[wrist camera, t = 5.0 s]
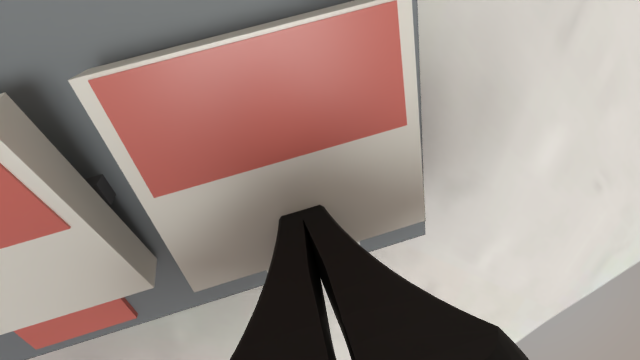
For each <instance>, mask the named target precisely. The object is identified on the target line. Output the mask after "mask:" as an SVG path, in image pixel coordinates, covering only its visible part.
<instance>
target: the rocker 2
mask: <svg viewBox="0 0 640 360" xmlns="http://www.w3.org/2000/svg"><path fill="white" fill-rule="evenodd" d="M68 81H69V83H70V85H71V86H72V88H73V90H74V91H75V93H76V95H77V97H78V98H79V100H80V102H81V103H82V105H83V107H84V108H85V110H86V112H87V113H88V115H89V117H90V118H91V120H92V122H93V123H94V125H95V127H96V128H97V130H98V132H99V133H100V135H101V137H102V139H103V140H104V142H105V144H106V145H107V147H108V149H109V150H110V152H111V154H112V155H113V157H114V159H115V160H116V162H117V164H118V165H119V167H120V169H121V170H122V172H123V174H124V175H125V177H126V179H127V181H128V182H129V184H130V186H131V187H132V189H133V191H134V192H135V194H136V196H137V197H138V199H139V201H140V202H141V204H142V206H143V207H144V209H145V211H146V212H147V214H148V216H149V217H150V219H151V221H152V222H153V224H154V226H155V228H156V229H157V231H158V233H159V234H160V236H161V238H162V239H163V241H164V243H165V244H166V246H167V248H168V249H169V251H170V253H171V254H172V256H173V258H174V259H175V261H176V263H177V264H178V266H179V268H180V270H181V271H182V273H183V275H184V276H185V278H186V280H187V281H188V283H189V285H190V286H191V288H192V290H193V291H194V292H198V291H201V290H204V289H207V288H210V287H214V286H217V285H220V284H223V283H226V282H230V281H233V280H236V279H239V278H243V277H246V276H249V275H252V274H255V273H259V272H262V271H265V270H268V269H269V267H270V264H271V260H272V256H273V252H274V247H275V243H276V238H277V232H278V225H279V219H280V217H281V216H283V215H287V214H290V213H294V212H297V211H301V210H304V209H307V208H311V207H314V206H317V205H322V206H324V207H325V209H326V210H327V211H328V213H329V214H330V215H331V216H332V218H333V219H334V220H335V221H336V222H337V223H338V224H339V225H340V226H341V228H342V229H343V230H344V231H345V232H346V233H348V234H349V235H350V236H351V237H352V238H353V239H354V240H355V241H356V242H358V241H362V240H365V239H368V238H371V237H374V236H378V235H381V234H384V233H387V232H390V231H394V230H397V229H400V228H403V227H407V226H410V225H413V224H416V223H419V222H423V221H426V220H425V204H424V188H423V172H422V156H421V139H420V123H419V107H418V91H417V75H416V58H415V42H414V26H413V10H412V0H354V1H350V2H346V3H342V4H338V5H334V6H331V7H327V8H323V9H319V10H315V11H311V12H307V13H303V14H299V15H296V16H292V17H288V18H284V19H280V20H276V21H272V22H268V23H264V24H261V25H257V26H253V27H249V28H245V29H241V30H237V31H233V32H230V33H226V34H222V35H218V36H214V37H210V38H206V39H202V40H198V41H195V42H191V43H187V44H183V45H179V46H175V47H171V48H167V49H163V50H160V51H156V52H152V53H148V54H144V55H140V56H136V57H132V58H128V59H125V60H121V61H117V62H113V63H109V64H105V65H101V66H97V67H93V68H90V69H87V70H85V71H83V72H82V73H80V74H78V75H76V76H74V77H73V78H71V79H69V80H68Z"/></svg>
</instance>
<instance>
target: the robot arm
mask: <svg viewBox="0 0 640 360" xmlns="http://www.w3.org/2000/svg"><path fill="white" fill-rule="evenodd" d="M320 278H321V279H320ZM321 280H322V283H323V285H324V288H325V290H326V293H327V295H328V298H329V300H330V303H331V305H332V308H333V310H334V313H335V315H336V318H337V320H338V323H339V325H340V328H341V330H342V333H343V336H344V338H345V341H346V344H347V347H348V350H349V353H350V356H351V360H529V359H528V358H527V357H526V356H525V354H524V353H523V352H522V351H521V350H520V349H519V348H518V346H517V345H516V344H515V343H514V342H513V341H512V340H511V339H510V338H509V337H508V336H507V335H506V334H505V333H504V332H503V331H502V330H501V329H500V328H499V327H498V326H495V325H493V324H491V323H488V322H486V321H484V320H481V319H479V318H477V317H475V316H472V315H470V314H468V313H466V312H464V311H462V310H460V309H458V308H456V307H454V306H452V305H450V304H448V303H446V302H444V301H442V300H440V299H438V298H436V297H434V296H433V295H431V294H429V293H428V292H426V291H424V290H422V289H421V288H419V287H417V286H416V285H414V284H412V283H410V282H409V281H407V280H406V279H404V278H403V277H401V276H400V275H398V274H397V273H395V272H394V271H392V270H391V269H389V268H388V267H387V266H385V265H384V264H382V263H381V262H380V261H378V260H377V259H376V258H375V257H373V256H372V255H371V254H370V253H368V252H367V251H366V250H365V249H364V248H363V247H361V246H360V245H359V244H358V243H357V242H356V241H355V240H354V239H353V238H352V237H351V236H350V235H349V234H348V233H346V232H345V231H344V230H343V229H342V228H341V226H340V225H339V224H338V223H337V222H336V221H335V220H334V219H333V218H332V216H331V215H330V214H329V213H328V211H327V210H326V209H325V207H324V206H322V205H317V206H314V207H311V208H307V209H304V210H301V211H297V212H294V213H290V214H287V215H283V216H281V217H280V219H279V225H278V232H277V238H276V243H275V247H274V252H273V256H272V260H271V264H270V267H269V270H268V274H267V277H266V280H265V283H264V286H263V289H262V292H261V295H260V297H259V300H258V302H257V305H256V307H255V310H254V312H253V315H252V317H251V319H250V321H249V323H248V325H247V328H246V330H245V332H244V334H243V336H242V338H241V340H240V342H239V344H238V346H237V348H236V350H235V352H234V353H233V355H232V357H231V359H230V360H336V357H335V353H334V349H333V344H332V340H331V334H330V329H329V323H328V317H327V312H326V306H325V301H324V295H323V290H322V284H321Z"/></svg>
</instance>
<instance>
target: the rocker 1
mask: <svg viewBox="0 0 640 360" xmlns="http://www.w3.org/2000/svg"><path fill="white" fill-rule="evenodd" d="M156 264H157V258H156V257H155V256H154V255H153V254H152V253H151V252H150V251H149V249H148V248H147V247H146V246H145V245H144V244H143V243H142V242H141V241H140V240H139V238H138V237H137V236H136V235H135V234H134V233H133V232H132V231H131V230H130V229H129V228H128V226H127V225H126V224H125V223H124V222H123V221H122V220H121V219H120V218H119V217H118V215H117V214H116V213H115V212H114V211H113V210H112V209H111V208H110V207H109V206H108V204H107V203H106V202H105V201H104V200H103V199H102V198H101V197H100V196H99V195H98V194H97V192H96V191H95V190H94V189H93V188H92V187H91V186H90V185H89V184H88V183H87V181H86V180H85V179H84V178H83V177H82V176H81V175H80V174H79V173H78V172H77V171H76V169H75V168H74V167H73V166H72V165H71V164H70V163H69V162H68V161H67V160H66V158H65V157H64V156H63V155H62V154H61V153H60V152H59V151H58V150H57V149H56V147H55V146H54V145H53V144H52V143H51V142H50V141H49V140H48V139H47V138H46V137H45V135H44V134H43V133H42V132H41V131H40V130H39V129H38V128H37V127H36V126H35V124H34V123H33V122H32V121H31V120H30V119H29V118H28V117H27V116H26V115H25V114H24V112H23V111H22V110H21V109H20V108H19V107H18V106H17V105H16V104H15V103H14V101H13V100H12V99H11V98H10V97H9V96H8V95H7V94H6V93H1V94H0V335H2V334H5V333H9V332H12V331H15V330H18V329H22V328H25V327H28V326H31V325H35V324H38V323H41V322H44V321H48V320H51V319H54V318H57V317H61V316H64V315H67V314H70V313H74V312H77V311H80V310H84V309H87V308H90V307H93V306H97V305H100V304H103V303H106V302H110V301H113V300H116V299H119V298H123V297H126V296H129V295H132V294H136V293H139V292H142V291H145V290H149V289H152V288H154V284H155V274H156Z"/></svg>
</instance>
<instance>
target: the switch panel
mask: <svg viewBox="0 0 640 360" xmlns="http://www.w3.org/2000/svg"><path fill="white" fill-rule="evenodd" d="M350 1H354V0H0V94H1V93H6V94H7V95H8V96H9V97H10V98H11V99H12V100H13V101H14V103H15V104H16V105H17V106H18V107H19V108H20V109H21V110H22V111H23V112H24V114H25V115H26V116H27V117H28V118H29V119H30V120H31V121H32V122H33V123H34V124H35V126H36V127H37V128H38V129H39V130H40V131H41V132H42V133H43V134H44V135H45V137H46V138H47V139H48V140H49V141H50V142H51V143H52V144H53V145H54V146H55V147H56V149H57V150H58V151H59V152H60V153H61V154H62V155H63V156H64V157H65V158H66V160H67V161H68V162H69V163H70V164H71V165H72V166H73V167H74V168H75V169H76V171H77V172H78V173H79V174H80V175H81V176H82V177H83V178H84V179H85V180H86V181H87V183H88V184H89V185H90V186H91V187H92V188H93V189H94V190H95V191H96V192H97V194H98V195H99V196H100V197H101V198H102V199H103V200H104V201H105V202H106V203H107V204H108V206H109V207H110V208H111V209H112V210H113V211H114V212H115V213H116V214H117V215H118V217H119V218H120V219H121V220H122V221H123V222H124V223H125V224H126V225H127V226H128V228H129V229H130V230H131V231H132V232H133V233H134V234H135V235H136V236H137V237H138V238H139V240H140V241H141V242H142V243H143V244H144V245H145V246H146V247H147V248H148V249H149V251H150V252H151V253H152V254H153V255H154V256H155V257H156V258H157V264H156V274H155V284H154V288H152V289H149V290H145V291H142V292H139V293H136V294H132V295H129V296H126V297H123V298H119V299H116V300H113V301H110V302H106V303H103V304H100V305H97V306H93V307H90V308H87V309H84V310H80V311H77V312H74V313H70V314H67V315H64V316H61V317H57V318H54V319H51V320H48V321H44V322H41V323H38V324H35V325H31V326H28V327H25V328H22V329H18V330H15V331H12V332H9V333H5V334H2V335H0V360H27V359H30V358H33V357H36V356H40V355H43V354H46V353H49V352H52V351H56V350H59V349H62V348H65V347H68V346H72V345H75V344H78V343H81V342H84V341H87V340H91V339H94V338H97V337H100V336H103V335H107V334H110V333H113V332H116V331H119V330H122V329H126V328H129V327H132V326H135V325H138V324H142V323H145V322H148V321H151V320H154V319H157V318H161V317H164V316H167V315H170V314H173V313H177V312H180V311H183V310H186V309H189V308H192V307H196V306H199V305H202V304H205V303H208V302H212V301H215V300H218V299H221V298H224V297H227V296H231V295H234V294H237V293H240V292H243V291H247V290H250V289H253V288H256V287H259V286H263V285H264V283H265V280H266V277H267V274H268V270H269V269H268V270H265V271H262V272H259V273H255V274H252V275H249V276H246V277H243V278H239V279H236V280H233V281H230V282H226V283H223V284H220V285H217V286H214V287H210V288H207V289H204V290H201V291H198V292H194V291H193V290H192V288H191V286H190V285H189V283H188V281H187V280H186V278H185V276H184V275H183V273H182V271H181V270H180V268H179V266H178V264H177V263H176V261H175V259H174V258H173V256H172V254H171V253H170V251H169V249H168V248H167V246H166V244H165V243H164V241H163V239H162V238H161V236H160V234H159V233H158V231H157V229H156V228H155V226H154V224H153V222H152V221H151V219H150V217H149V216H148V214H147V212H146V211H145V209H144V207H143V206H142V204H141V202H140V201H139V199H138V197H137V196H136V194H135V192H134V191H133V189H132V187H131V186H130V184H129V182H128V181H127V179H126V177H125V175H124V174H123V172H122V170H121V169H120V167H119V165H118V164H117V162H116V160H115V159H114V157H113V155H112V154H111V152H110V150H109V149H108V147H107V145H106V144H105V142H104V140H103V139H102V137H101V135H100V133H99V132H98V130H97V128H96V127H95V125H94V123H93V122H92V120H91V118H90V117H89V115H88V113H87V112H86V110H85V108H84V107H83V105H82V103H81V102H80V100H79V98H78V97H77V95H76V93H75V91H74V90H73V88H72V86H71V85H70V83H69V81H68V80H69V79H71V78H73V77H74V76H76V75H78V74H80V73H82V72H83V71H85V70H87V69H90V68H93V67H97V66H101V65H105V64H109V63H113V62H117V61H121V60H125V59H128V58H132V57H136V56H140V55H144V54H148V53H152V52H156V51H160V50H163V49H167V48H171V47H175V46H179V45H183V44H187V43H191V42H195V41H198V40H202V39H206V38H210V37H214V36H218V35H222V34H226V33H230V32H233V31H237V30H241V29H245V28H249V27H253V26H257V25H261V24H264V23H268V22H272V21H276V20H280V19H284V18H288V17H292V16H296V15H299V14H303V13H307V12H311V11H315V10H319V9H323V8H327V7H331V6H334V5H338V4H342V3H346V2H350ZM412 10H413V26H414V42H415V58H416V75H417V91H418V107H419V123H420V139H421V156H422V172H423V154H422V125H421V95H420V66H419V37H418V8H417V0H412ZM423 188H424V183H423ZM422 235H425V221H423V222H419V223H416V224H413V225H410V226H407V227H403V228H400V229H397V230H394V231H390V232H387V233H384V234H381V235H378V236H374V237H371V238H368V239H365V240H362V241H358V242H357V243H358V244H359V245H360V246H361V247H363V248H364V249H365V250H366V251H367V252H371V251H374V250H377V249H380V248H383V247H387V246H390V245H393V244H396V243H399V242H403V241H406V240H409V239H412V238H415V237H418V236H422Z"/></svg>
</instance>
